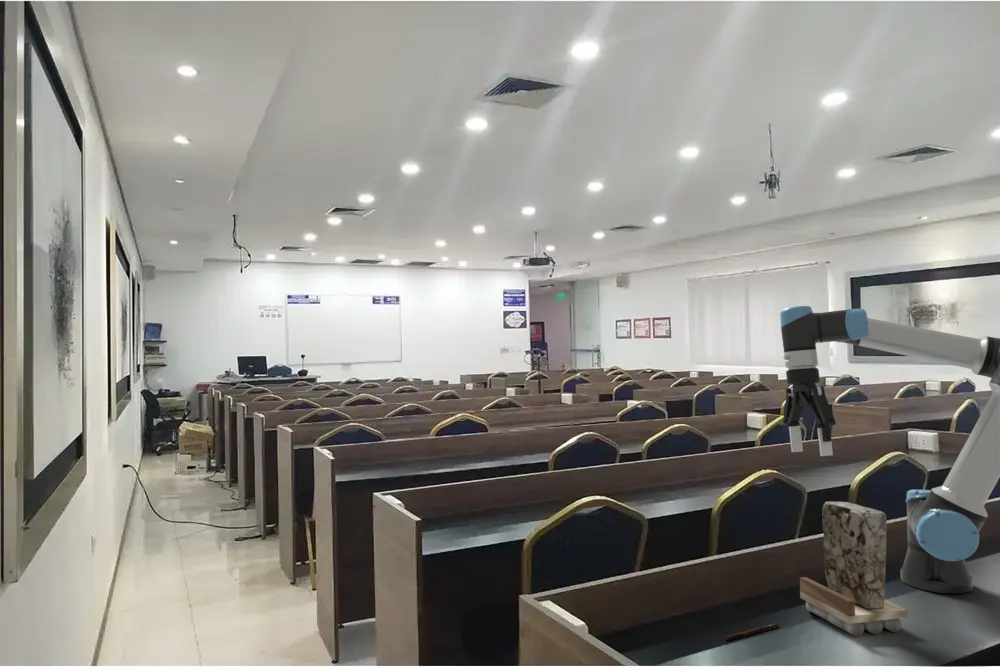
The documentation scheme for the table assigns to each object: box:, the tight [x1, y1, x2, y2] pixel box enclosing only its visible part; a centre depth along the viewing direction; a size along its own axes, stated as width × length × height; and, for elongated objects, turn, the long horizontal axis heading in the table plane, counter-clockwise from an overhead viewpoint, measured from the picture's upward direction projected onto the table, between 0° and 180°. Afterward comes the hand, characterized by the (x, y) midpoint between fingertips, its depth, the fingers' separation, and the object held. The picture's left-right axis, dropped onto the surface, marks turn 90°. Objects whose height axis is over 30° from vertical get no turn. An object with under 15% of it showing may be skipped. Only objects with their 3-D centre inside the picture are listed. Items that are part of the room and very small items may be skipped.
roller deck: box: [799, 576, 908, 638], centre depth 145 cm, size 14×15×8 cm
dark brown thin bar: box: [724, 622, 779, 641], centre depth 140 cm, size 15×1×1 cm, turn 117°
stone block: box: [821, 501, 888, 609], centre depth 146 cm, size 13×7×20 cm, turn 19°
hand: (811, 453), depth 167 cm, fingers open, 13 cm apart
